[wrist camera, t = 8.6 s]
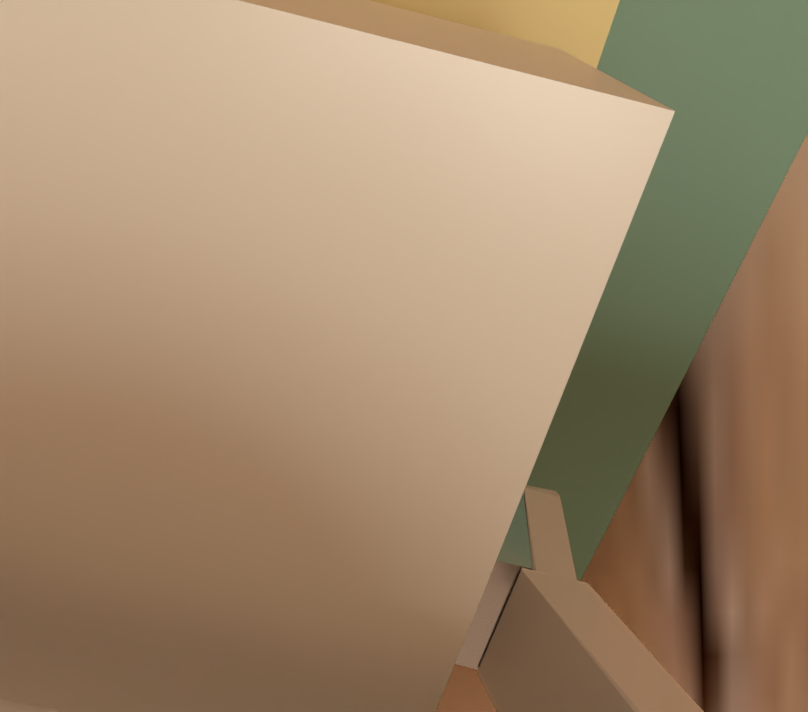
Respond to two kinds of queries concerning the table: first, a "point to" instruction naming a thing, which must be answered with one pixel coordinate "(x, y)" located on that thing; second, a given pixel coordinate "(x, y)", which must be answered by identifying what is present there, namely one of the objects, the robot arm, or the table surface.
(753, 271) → the table surface
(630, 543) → the table surface
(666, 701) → the robot arm
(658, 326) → the header board
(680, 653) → the table surface
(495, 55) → the housing
